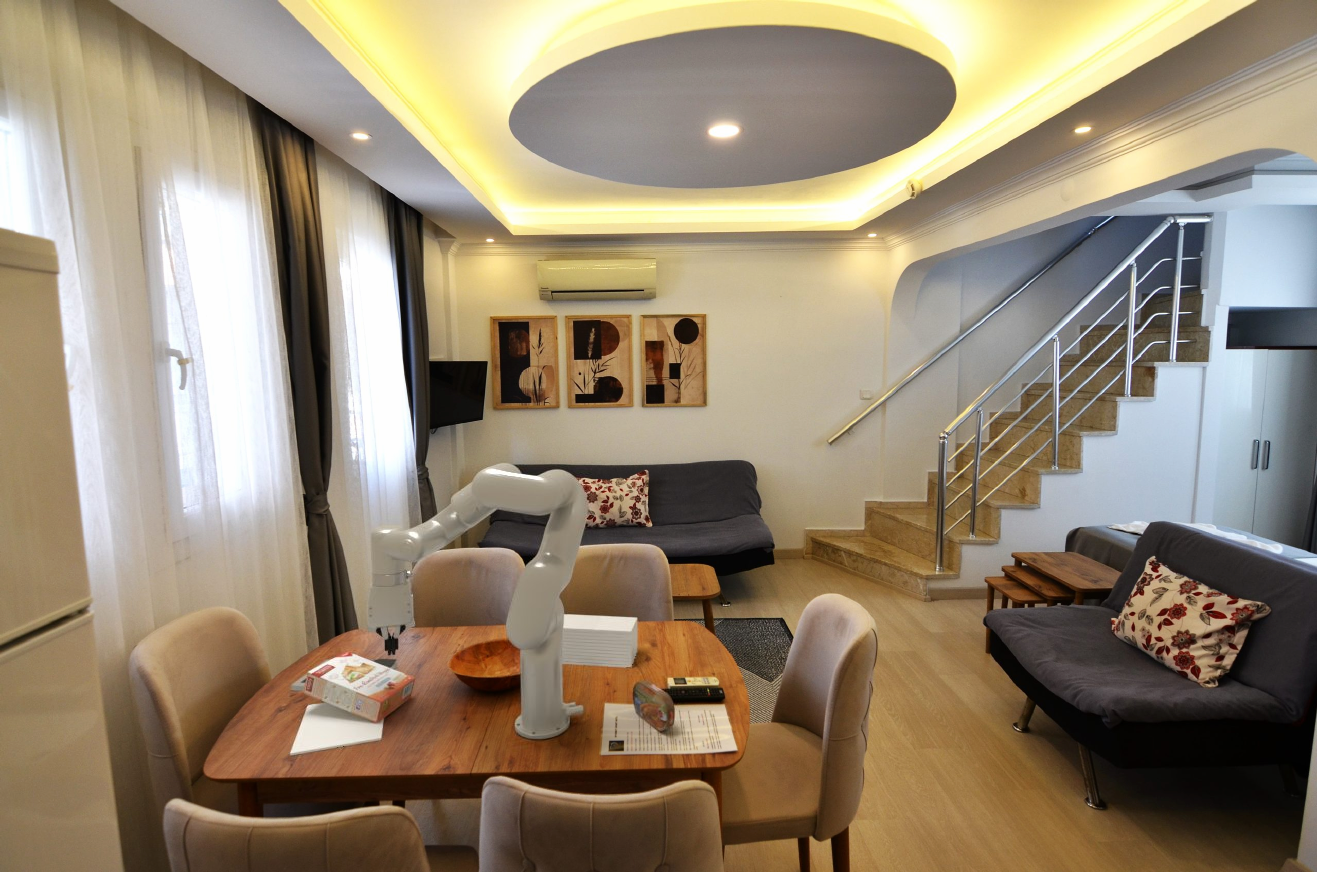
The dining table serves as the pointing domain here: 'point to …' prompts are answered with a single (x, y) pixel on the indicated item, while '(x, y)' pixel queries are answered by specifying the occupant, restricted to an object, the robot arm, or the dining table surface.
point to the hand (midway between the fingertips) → (391, 652)
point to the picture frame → (301, 682)
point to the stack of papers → (599, 640)
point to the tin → (653, 705)
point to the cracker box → (359, 686)
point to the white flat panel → (333, 729)
